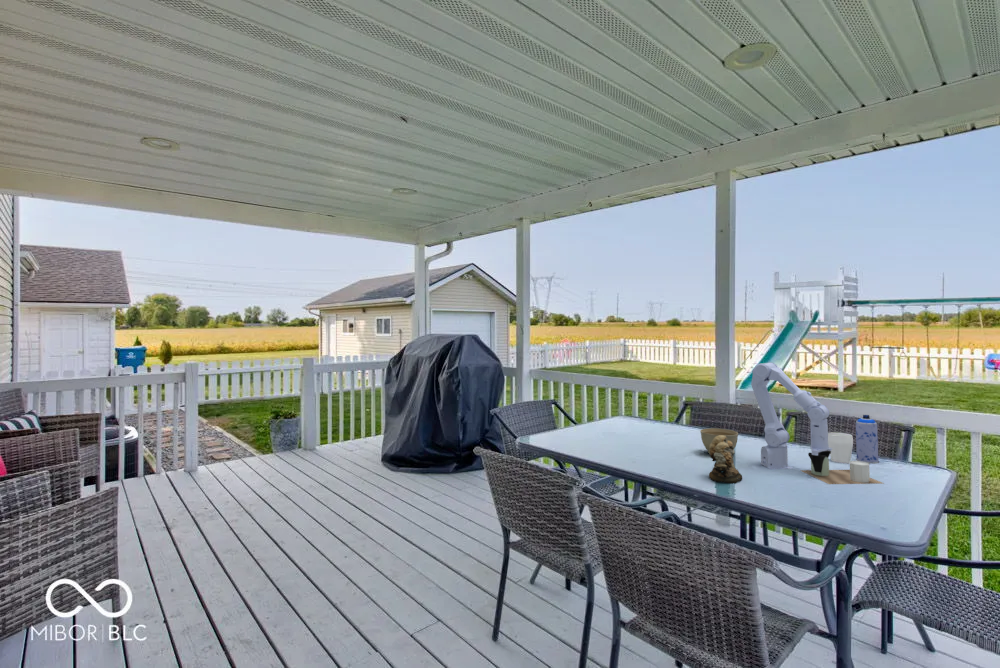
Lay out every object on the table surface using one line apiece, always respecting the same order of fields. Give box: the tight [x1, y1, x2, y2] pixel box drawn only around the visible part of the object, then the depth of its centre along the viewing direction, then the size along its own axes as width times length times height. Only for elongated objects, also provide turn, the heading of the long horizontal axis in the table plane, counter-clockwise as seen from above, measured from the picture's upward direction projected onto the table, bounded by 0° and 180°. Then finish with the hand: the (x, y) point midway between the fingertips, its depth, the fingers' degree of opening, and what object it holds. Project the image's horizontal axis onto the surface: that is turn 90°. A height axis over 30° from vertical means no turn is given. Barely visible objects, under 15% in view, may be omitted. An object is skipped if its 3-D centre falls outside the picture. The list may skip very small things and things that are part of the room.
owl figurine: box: [708, 435, 743, 485], centre depth 188 cm, size 18×12×17 cm, turn 150°
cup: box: [828, 431, 854, 465], centre depth 206 cm, size 9×9×12 cm
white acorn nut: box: [849, 460, 871, 483], centre depth 179 cm, size 6×6×7 cm
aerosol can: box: [855, 414, 880, 464], centre depth 206 cm, size 8×8×20 cm
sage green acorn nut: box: [810, 457, 830, 476], centre depth 189 cm, size 6×6×7 cm
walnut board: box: [800, 469, 885, 485], centre depth 184 cm, size 20×18×1 cm
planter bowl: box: [699, 427, 739, 455], centre depth 223 cm, size 16×16×11 cm
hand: (820, 470), depth 189 cm, fingers closed on sage green acorn nut, 6 cm apart
